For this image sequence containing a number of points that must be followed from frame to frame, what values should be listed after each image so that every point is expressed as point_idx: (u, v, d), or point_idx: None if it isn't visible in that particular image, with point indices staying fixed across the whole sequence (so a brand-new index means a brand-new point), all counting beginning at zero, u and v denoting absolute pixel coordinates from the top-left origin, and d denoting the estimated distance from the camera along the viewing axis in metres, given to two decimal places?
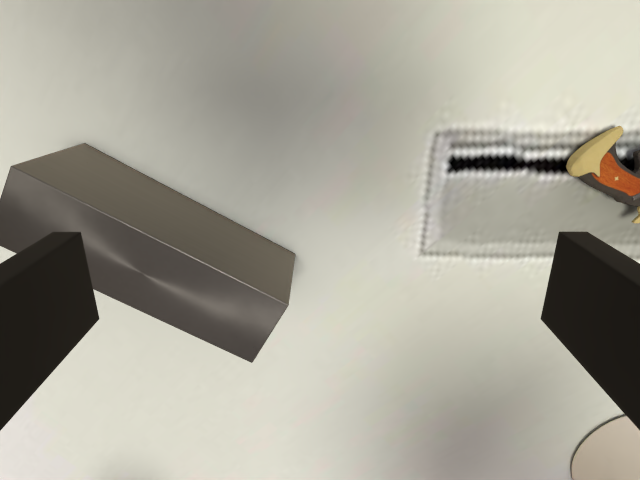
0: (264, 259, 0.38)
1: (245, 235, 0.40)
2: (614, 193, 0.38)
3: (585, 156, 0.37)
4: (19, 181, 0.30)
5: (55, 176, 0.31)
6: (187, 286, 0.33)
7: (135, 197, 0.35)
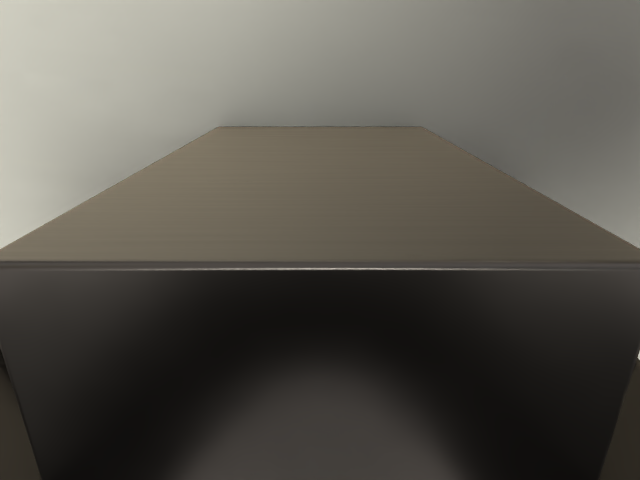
0: None
1: None
2: None
3: None
4: (562, 345, 0.04)
5: None
6: None
7: None
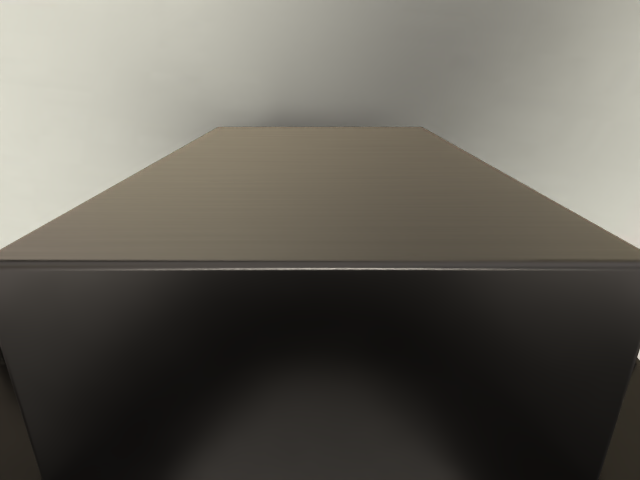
0: None
1: None
2: None
3: None
4: (562, 345, 0.04)
5: None
6: None
7: None
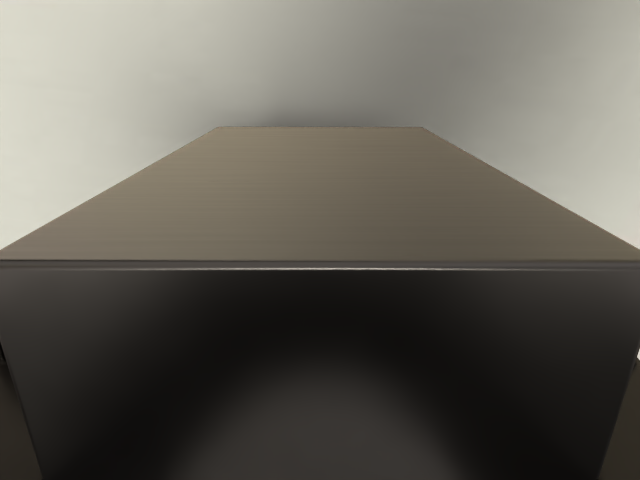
0: None
1: None
2: None
3: None
4: (563, 345, 0.04)
5: None
6: None
7: None
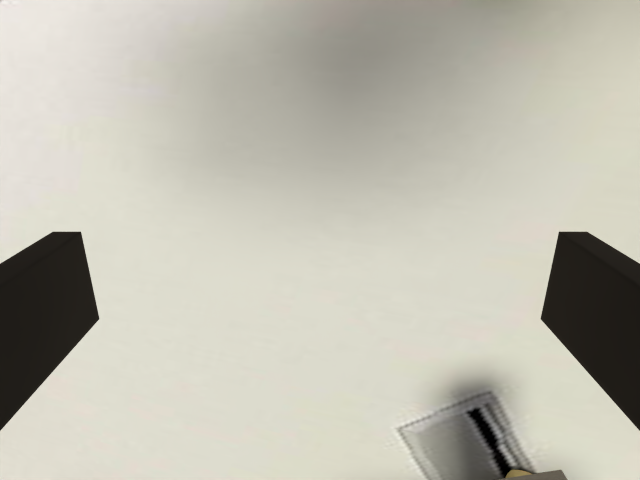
0: None
1: None
2: None
3: None
4: None
5: None
6: None
7: None
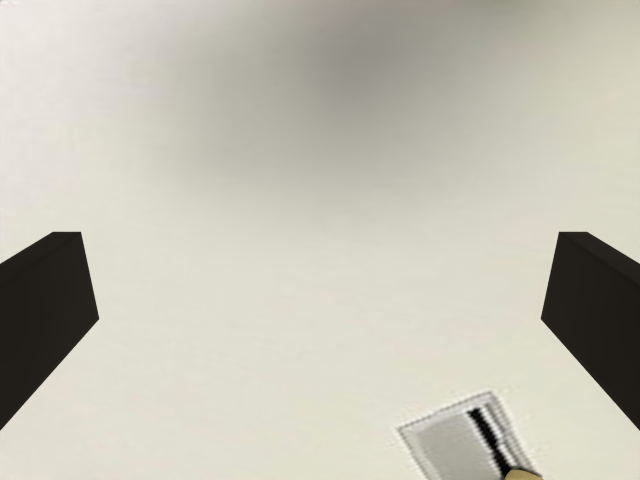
0: None
1: None
2: None
3: None
4: None
5: None
6: None
7: None
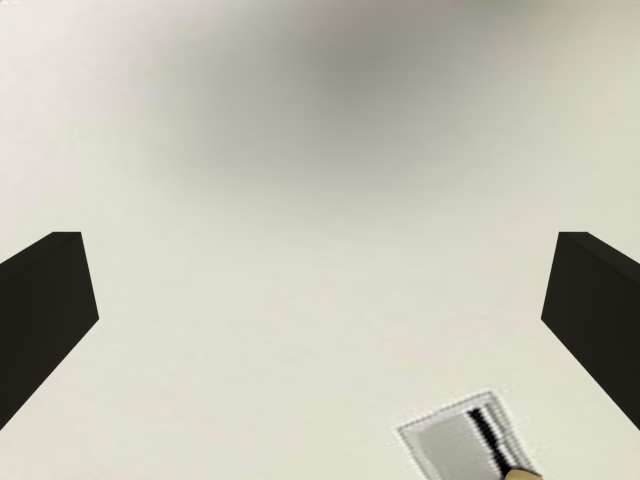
0: None
1: None
2: None
3: None
4: None
5: None
6: None
7: None
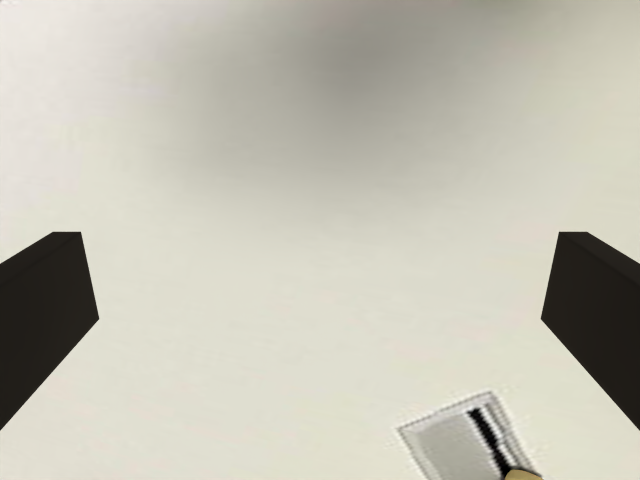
0: None
1: None
2: None
3: None
4: None
5: None
6: None
7: None
